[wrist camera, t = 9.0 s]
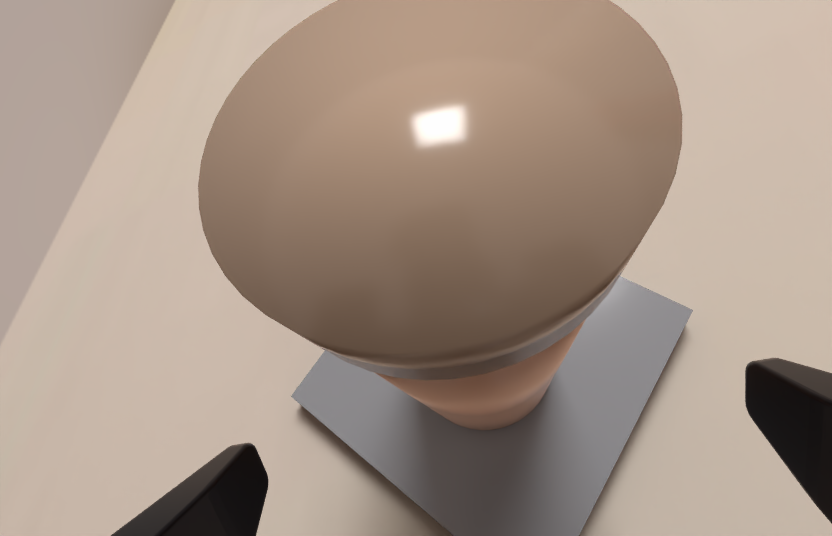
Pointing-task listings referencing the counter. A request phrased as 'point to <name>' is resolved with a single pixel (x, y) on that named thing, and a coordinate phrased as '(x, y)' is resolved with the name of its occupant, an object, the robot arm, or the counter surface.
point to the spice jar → (443, 187)
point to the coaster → (512, 426)
